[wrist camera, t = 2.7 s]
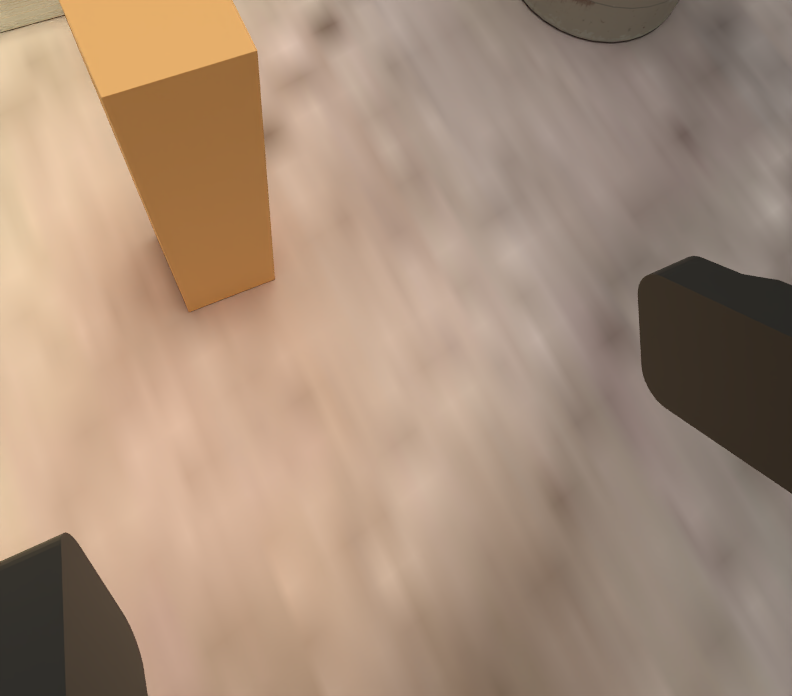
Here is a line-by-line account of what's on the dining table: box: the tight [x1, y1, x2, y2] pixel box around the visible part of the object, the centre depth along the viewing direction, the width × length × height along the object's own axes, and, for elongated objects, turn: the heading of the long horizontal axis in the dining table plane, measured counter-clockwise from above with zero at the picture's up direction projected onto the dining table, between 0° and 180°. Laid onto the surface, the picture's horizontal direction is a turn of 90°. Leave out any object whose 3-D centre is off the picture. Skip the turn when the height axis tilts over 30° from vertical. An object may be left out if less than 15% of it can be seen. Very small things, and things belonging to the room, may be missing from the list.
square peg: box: [59, 0, 275, 312], centre depth 20 cm, size 3×3×12 cm
